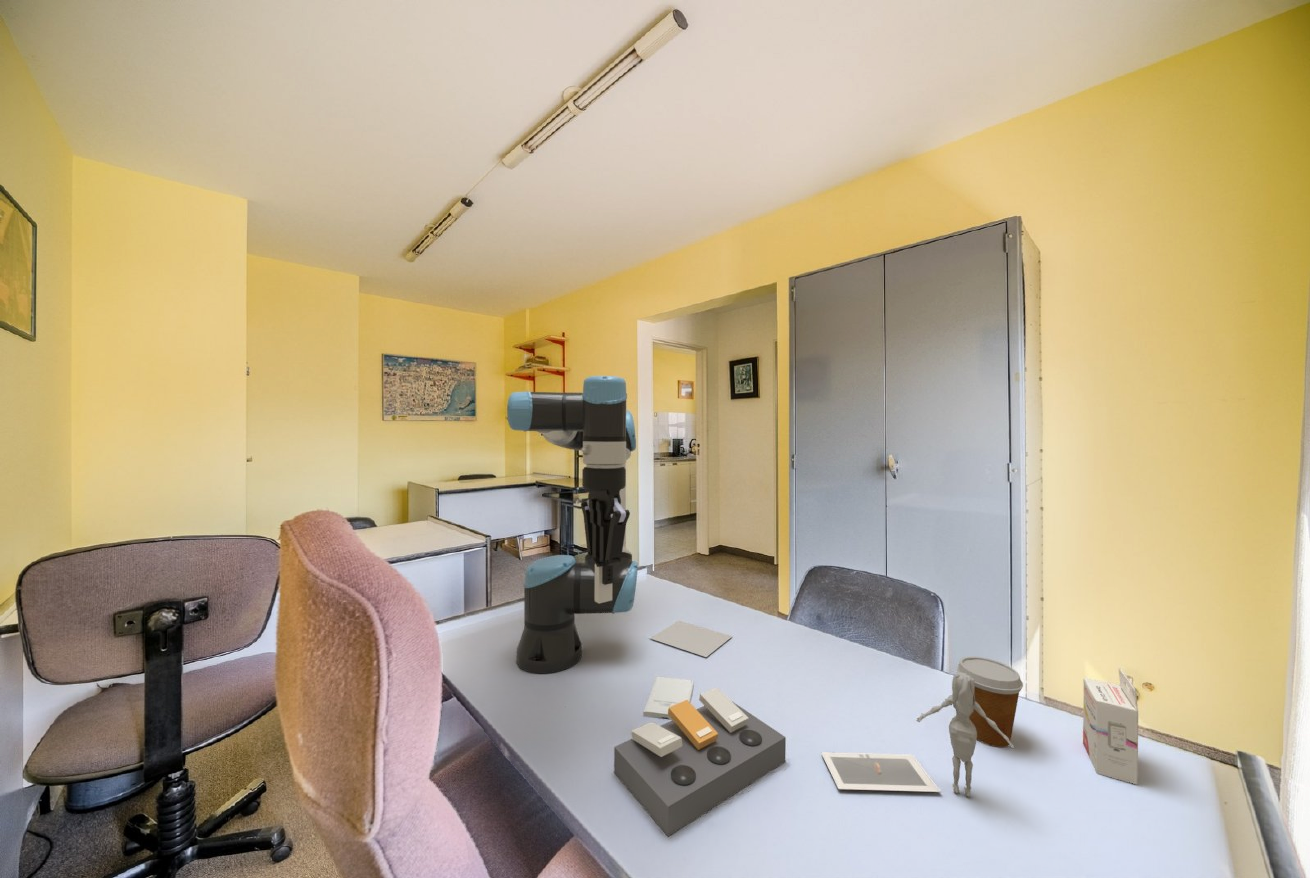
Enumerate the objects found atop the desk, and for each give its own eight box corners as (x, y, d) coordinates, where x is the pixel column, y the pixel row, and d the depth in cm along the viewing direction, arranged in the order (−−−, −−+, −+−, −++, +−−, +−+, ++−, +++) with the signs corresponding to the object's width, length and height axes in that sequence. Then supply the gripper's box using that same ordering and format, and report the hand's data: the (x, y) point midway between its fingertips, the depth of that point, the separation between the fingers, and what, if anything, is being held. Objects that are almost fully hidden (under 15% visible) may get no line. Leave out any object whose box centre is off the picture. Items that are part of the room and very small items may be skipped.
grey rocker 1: (632, 739, 73) (631, 729, 73) (652, 729, 75) (651, 720, 75) (661, 757, 66) (660, 746, 66) (682, 746, 68) (681, 736, 69)
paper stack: (695, 612, 136) (695, 610, 136) (776, 634, 122) (776, 632, 122) (649, 640, 117) (649, 638, 117) (738, 671, 103) (738, 667, 103)
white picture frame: (941, 799, 67) (941, 784, 67) (838, 796, 67) (838, 781, 67) (912, 761, 75) (912, 748, 75) (820, 758, 75) (820, 745, 75)
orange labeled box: (667, 713, 76) (668, 706, 76) (686, 705, 79) (687, 698, 79) (698, 750, 70) (699, 742, 70) (717, 740, 72) (718, 732, 72)
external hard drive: (693, 688, 96) (686, 724, 84) (655, 683, 98) (643, 719, 86) (693, 680, 96) (686, 715, 84) (655, 676, 98) (643, 710, 86)
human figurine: (1010, 802, 66) (1012, 679, 66) (1015, 821, 63) (1017, 691, 62) (915, 771, 72) (916, 658, 72) (915, 787, 69) (917, 669, 68)
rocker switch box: (614, 772, 71) (614, 744, 71) (724, 717, 85) (724, 694, 85) (667, 836, 60) (668, 804, 60) (785, 761, 74) (785, 735, 74)
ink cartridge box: (1080, 742, 79) (1081, 658, 79) (1120, 753, 76) (1121, 666, 76) (1094, 774, 72) (1096, 681, 72) (1139, 787, 69) (1140, 691, 69)
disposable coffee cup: (1004, 761, 74) (1005, 688, 74) (944, 727, 83) (945, 662, 83) (1033, 743, 79) (1034, 674, 79) (973, 713, 87) (974, 651, 87)
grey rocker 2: (699, 699, 81) (700, 693, 80) (715, 692, 83) (716, 685, 83) (730, 733, 74) (731, 725, 74) (747, 724, 76) (748, 716, 76)
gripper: (567, 464, 82) (567, 594, 82) (604, 469, 71) (603, 618, 72) (604, 462, 86) (603, 585, 87) (643, 467, 76) (642, 607, 76)
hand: (603, 600), depth 79 cm, fingers closed
